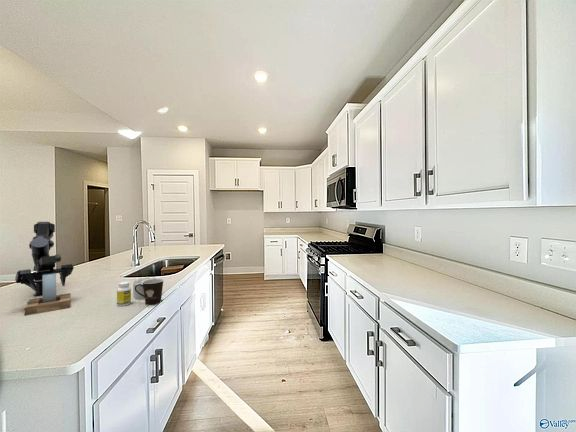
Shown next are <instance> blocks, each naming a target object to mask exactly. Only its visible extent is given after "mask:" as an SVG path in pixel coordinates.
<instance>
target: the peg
mask: <svg viewBox="0 0 576 432" xmlns="http://www.w3.org/2000/svg"><path fill="white" fill-rule="evenodd" d="M42 281H43V295H42V297H43V303H46V302H53V301H56V295H57V273H50V274H44V275H42Z"/></svg>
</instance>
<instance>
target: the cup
mask: <svg viewBox="0 0 576 432" xmlns="http://www.w3.org/2000/svg"><path fill="white" fill-rule="evenodd" d="M151 279H157V278H156V277H154V276H153V277H151V278H150V277H149V276H146V277H145V278H143V277H139V278H138V279H135V280H134V281H133V283H132V285H133V287H132V288H133V289H132V292H133V293H132V296H133V299H134V300H137V301H138V300H139V301H140V300H141V301H142V300H145V298H144V297H143V296H141V295H140V294H138V293H137V292H136V291H135V286H136V285H138V284H142V285H143V281H146V280H151ZM136 290H137V291H138V292H139V293H141V294H143V295H144V290H143V287H142V286H140V285H139V286H137V287H136Z"/></svg>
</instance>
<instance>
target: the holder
mask: <svg viewBox="0 0 576 432" xmlns="http://www.w3.org/2000/svg"><path fill="white" fill-rule="evenodd" d="M69 308H71V293H63V294H56V301H53V302H46V303H43V296H42V297H36V298H29V299H28V302H27V303H26V304H25V307H24V316H29V315H36V314H41V313H47V312H52V311H58V310H63V309H69Z"/></svg>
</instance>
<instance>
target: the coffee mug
mask: <svg viewBox="0 0 576 432" xmlns="http://www.w3.org/2000/svg"><path fill="white" fill-rule="evenodd" d="M150 279H151V278H150ZM139 285H140V286H142V287H143V290H144V295H143V294H141V293H139V292H138V291H137V290H136V287H137V286H139ZM163 287H164V279H161V278H156V279H151V280H146V281H143V285H142V284H138V285H136V286H135V291H136V292H137V293H138V294H140V295H141V296H143V297H144V298H145V299H144V304H145V305H146V306H154V305H158V304H160V303H161V302H162V295H163Z"/></svg>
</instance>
